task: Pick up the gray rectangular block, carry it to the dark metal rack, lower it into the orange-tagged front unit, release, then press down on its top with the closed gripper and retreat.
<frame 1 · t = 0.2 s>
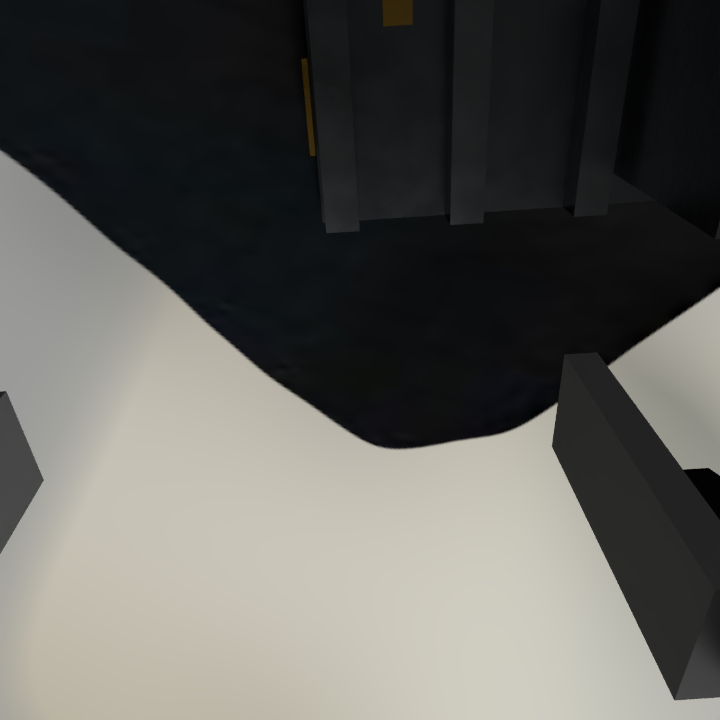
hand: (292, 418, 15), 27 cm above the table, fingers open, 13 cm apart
rack: (522, 86, 37), on the table
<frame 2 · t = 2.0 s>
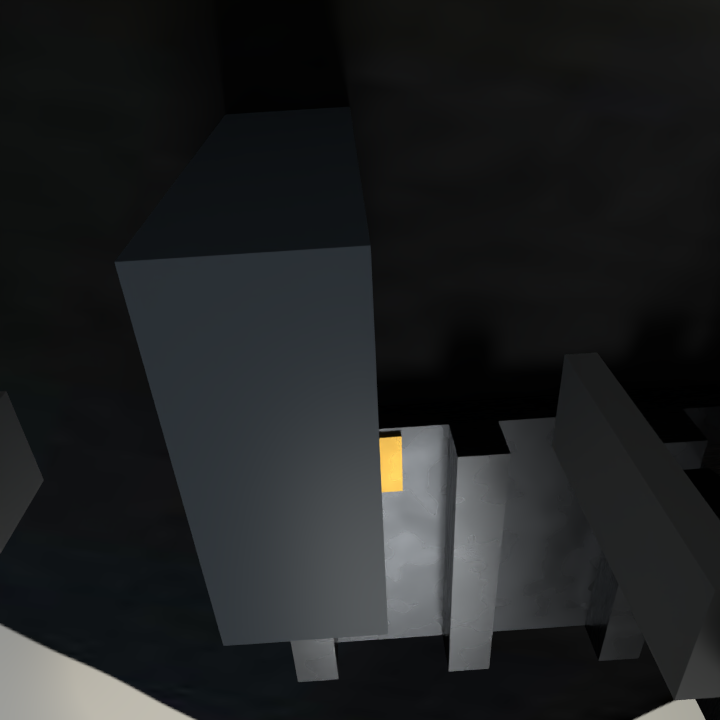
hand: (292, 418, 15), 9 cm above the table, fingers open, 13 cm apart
rack: (537, 512, 30), on the table
gray rectangular block: (303, 255, 22), on the table
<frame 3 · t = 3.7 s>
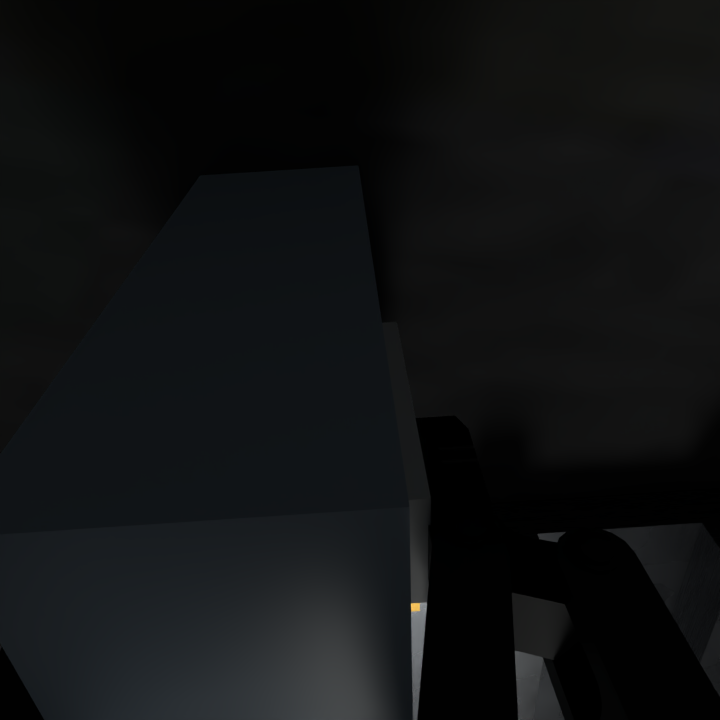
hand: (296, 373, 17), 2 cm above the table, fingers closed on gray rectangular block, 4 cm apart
rack: (577, 622, 25), on the table
gray rectangular block: (299, 342, 18), on the table, touching gripper
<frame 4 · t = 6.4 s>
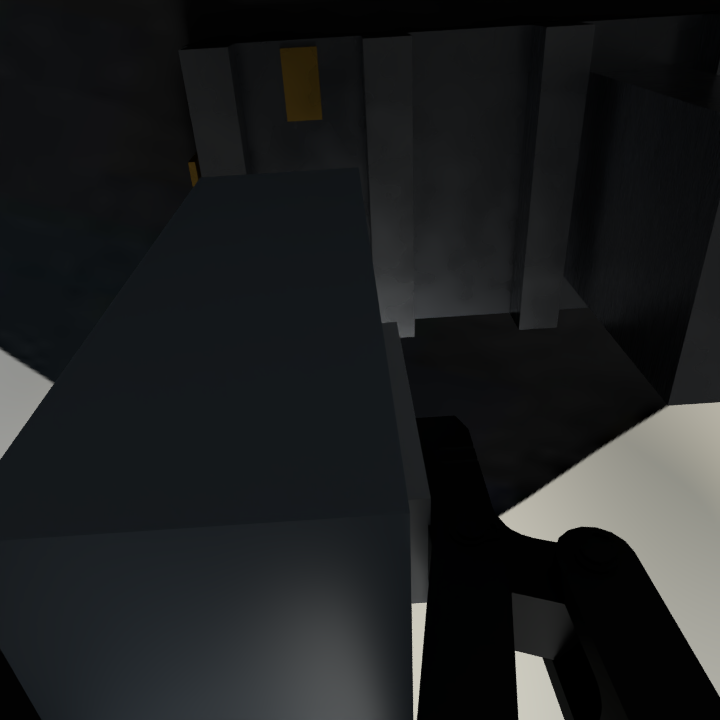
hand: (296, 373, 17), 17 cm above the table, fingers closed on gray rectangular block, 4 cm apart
rack: (458, 181, 32), on the table
gray rectangular block: (300, 344, 18), point 16 cm above the table, touching gripper
when the fingers open (6 cm above the table, at t = 9.0 s): gray rectangular block drops 2 cm, resting on rack.
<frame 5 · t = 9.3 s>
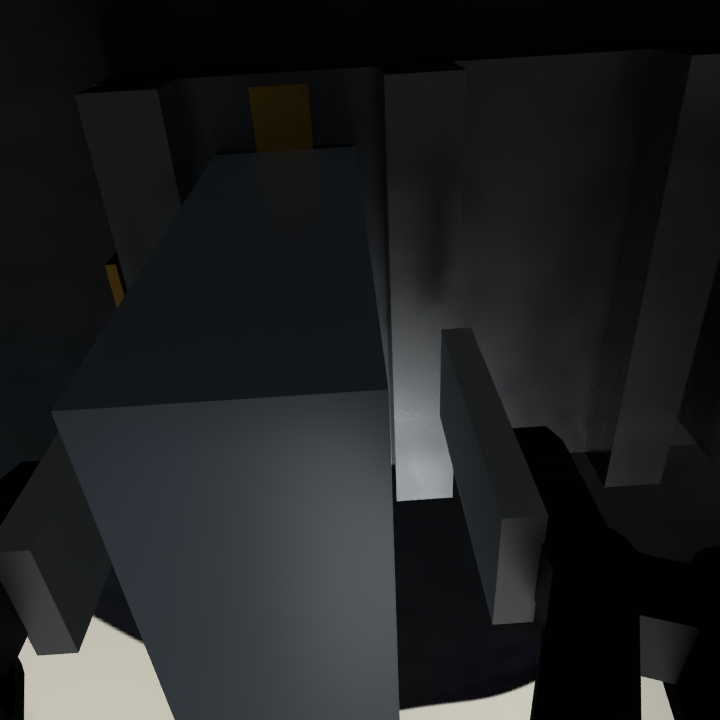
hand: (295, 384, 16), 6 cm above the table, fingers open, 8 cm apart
rack: (518, 273, 22), on the table
gray rectangular block: (302, 307, 20), point 2 cm above the table, touching rack
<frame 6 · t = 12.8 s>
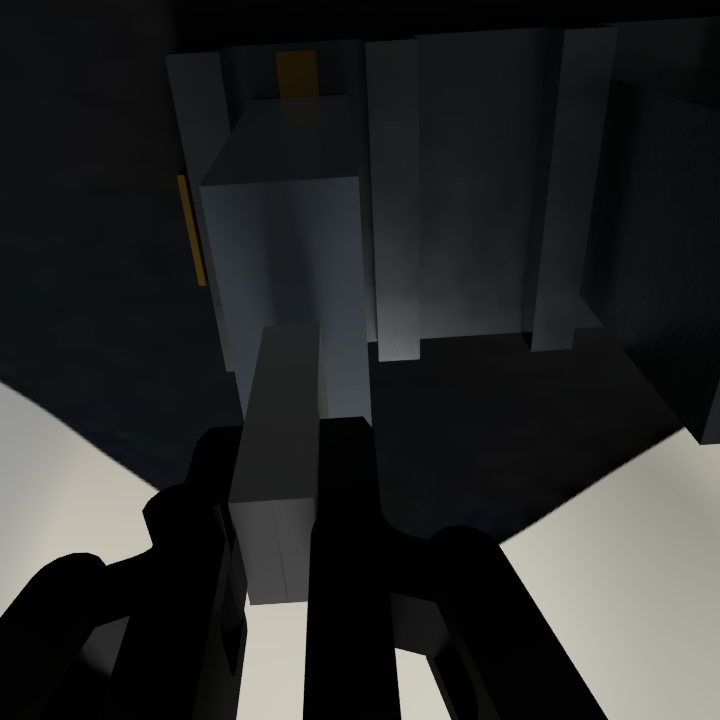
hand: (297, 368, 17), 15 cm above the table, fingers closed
rack: (467, 193, 30), on the table
gray rectangular block: (310, 214, 28), point 2 cm above the table, touching rack
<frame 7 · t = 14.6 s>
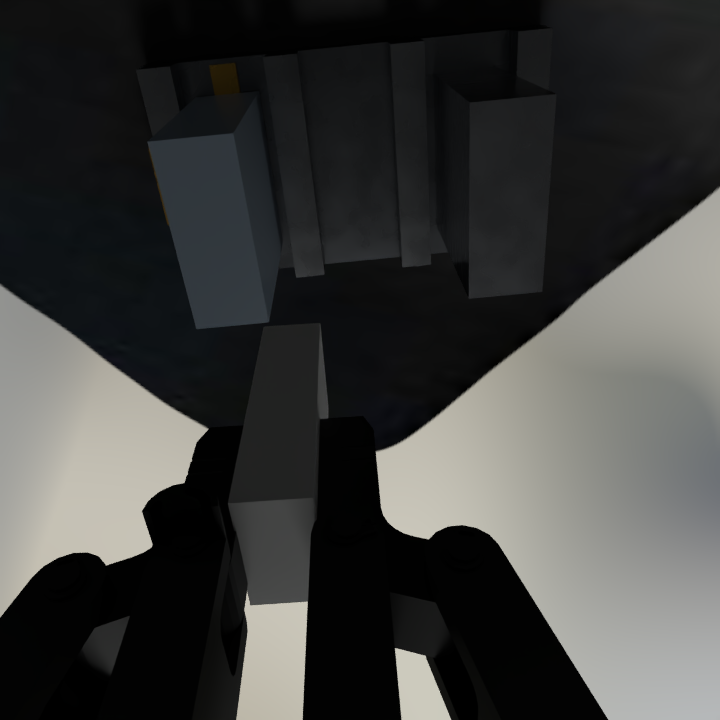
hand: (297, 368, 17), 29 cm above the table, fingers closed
rack: (352, 157, 43), on the table
gray rectangular block: (242, 173, 41), point 2 cm above the table, touching rack
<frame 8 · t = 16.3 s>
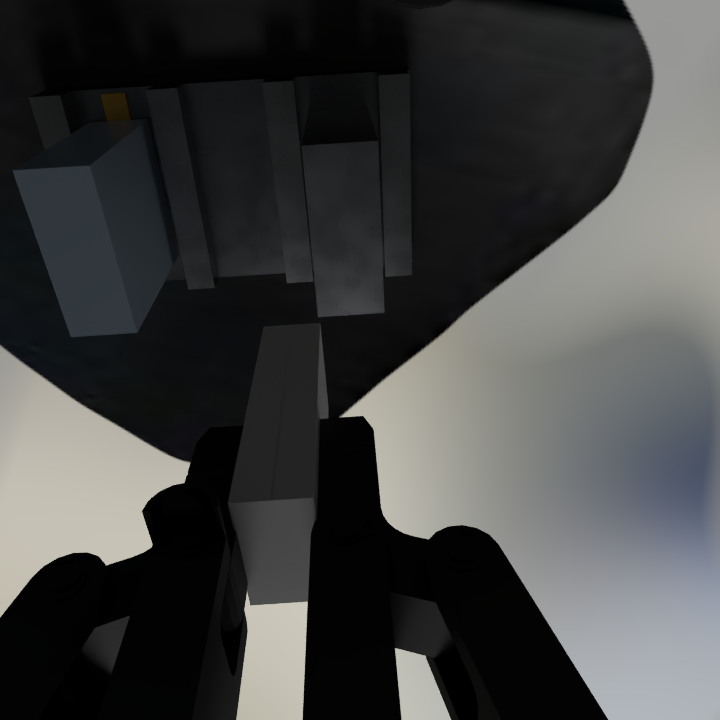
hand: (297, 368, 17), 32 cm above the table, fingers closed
rack: (242, 180, 46), on the table
gray rectangular block: (136, 192, 45), point 2 cm above the table, touching rack
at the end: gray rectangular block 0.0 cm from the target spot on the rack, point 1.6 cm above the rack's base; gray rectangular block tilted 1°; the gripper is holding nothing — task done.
